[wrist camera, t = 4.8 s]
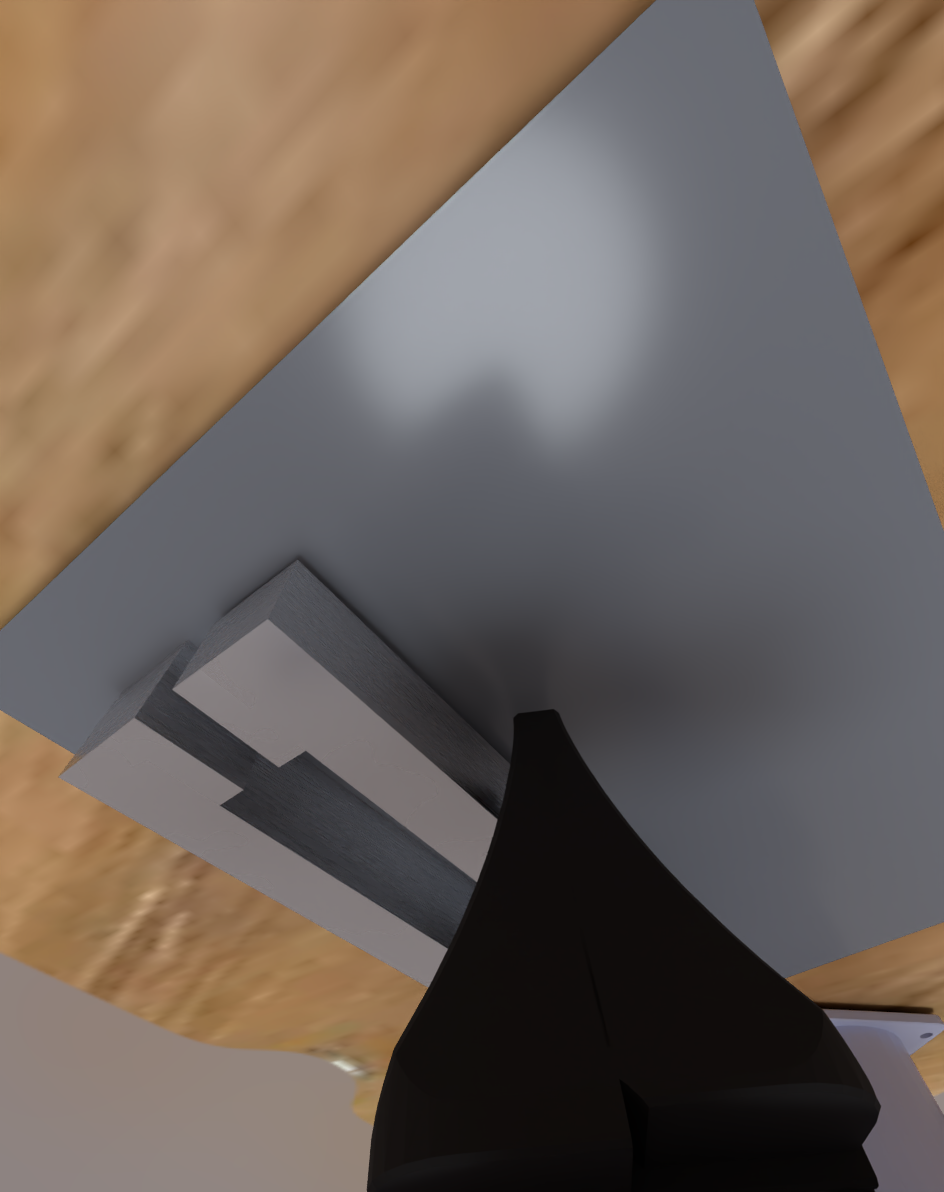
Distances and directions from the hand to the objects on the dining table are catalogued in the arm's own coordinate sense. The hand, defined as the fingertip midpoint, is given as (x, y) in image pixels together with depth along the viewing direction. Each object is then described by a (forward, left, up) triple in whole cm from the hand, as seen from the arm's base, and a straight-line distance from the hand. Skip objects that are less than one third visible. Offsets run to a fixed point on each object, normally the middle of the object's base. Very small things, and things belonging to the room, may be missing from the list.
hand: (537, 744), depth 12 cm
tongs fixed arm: (-6, +2, -1) cm, 6 cm away
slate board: (-3, -3, -2) cm, 4 cm away
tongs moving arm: (-6, -1, -1) cm, 6 cm away
